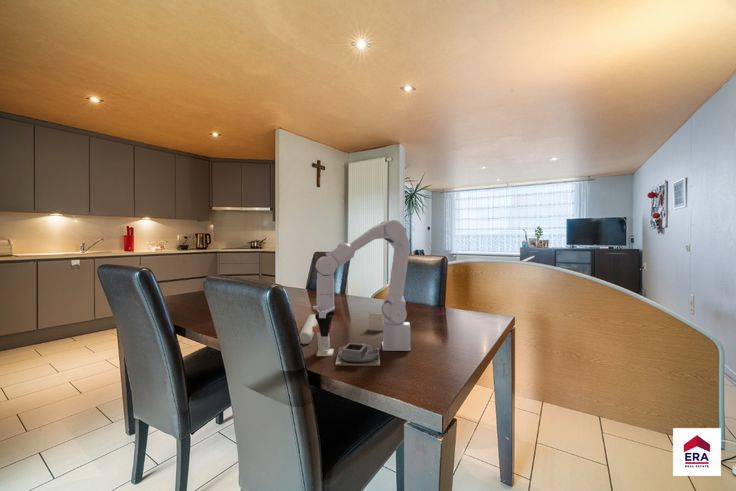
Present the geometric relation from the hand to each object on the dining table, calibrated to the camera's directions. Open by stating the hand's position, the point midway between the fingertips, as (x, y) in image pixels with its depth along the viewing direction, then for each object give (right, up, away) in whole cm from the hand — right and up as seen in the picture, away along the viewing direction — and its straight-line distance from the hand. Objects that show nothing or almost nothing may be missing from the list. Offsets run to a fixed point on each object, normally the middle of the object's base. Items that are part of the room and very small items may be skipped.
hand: (325, 334), depth 104 cm
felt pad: (0, -6, 0) cm, 6 cm away
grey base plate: (+11, -7, -3) cm, 13 cm away
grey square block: (+17, -6, +27) cm, 32 cm away
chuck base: (+11, -7, -3) cm, 13 cm away
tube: (-9, -6, +20) cm, 23 cm away
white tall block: (0, -5, 0) cm, 5 cm away
